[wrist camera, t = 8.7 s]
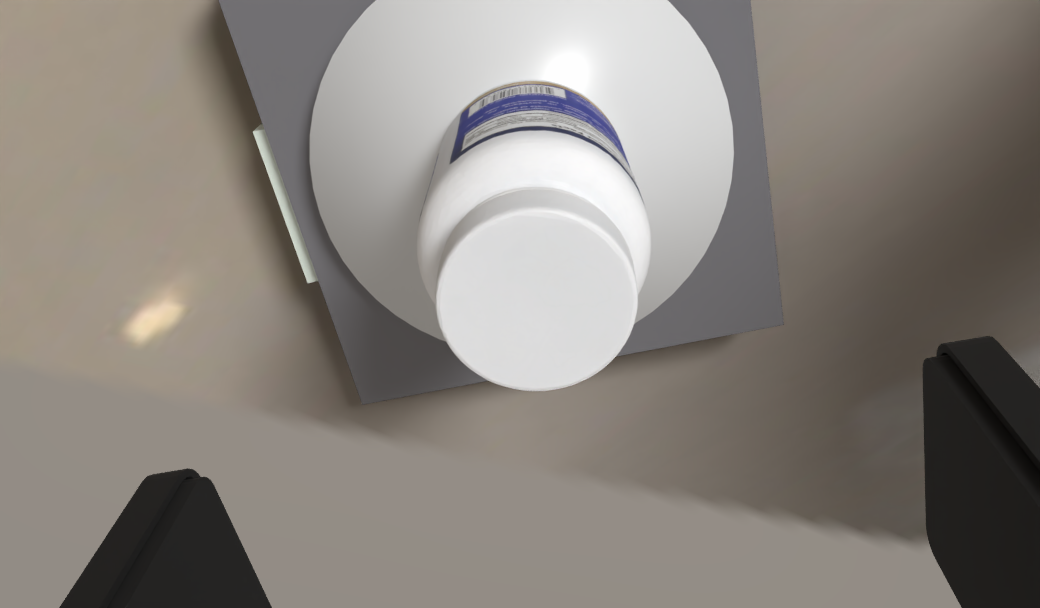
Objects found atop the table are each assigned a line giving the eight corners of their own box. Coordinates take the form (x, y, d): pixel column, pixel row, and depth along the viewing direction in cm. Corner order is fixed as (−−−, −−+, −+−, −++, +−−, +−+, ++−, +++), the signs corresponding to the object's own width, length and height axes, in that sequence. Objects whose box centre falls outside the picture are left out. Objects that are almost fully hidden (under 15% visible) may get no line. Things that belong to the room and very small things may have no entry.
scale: (714, -158, 24) (741, -161, 21) (764, 291, 30) (790, 336, 27) (219, -36, 26) (179, -24, 23) (360, 369, 32) (343, 420, 29)
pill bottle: (568, 282, 27) (586, 459, 19) (409, 207, 26) (356, 360, 18) (659, 128, 24) (724, 253, 17) (490, 39, 23) (472, 126, 15)
